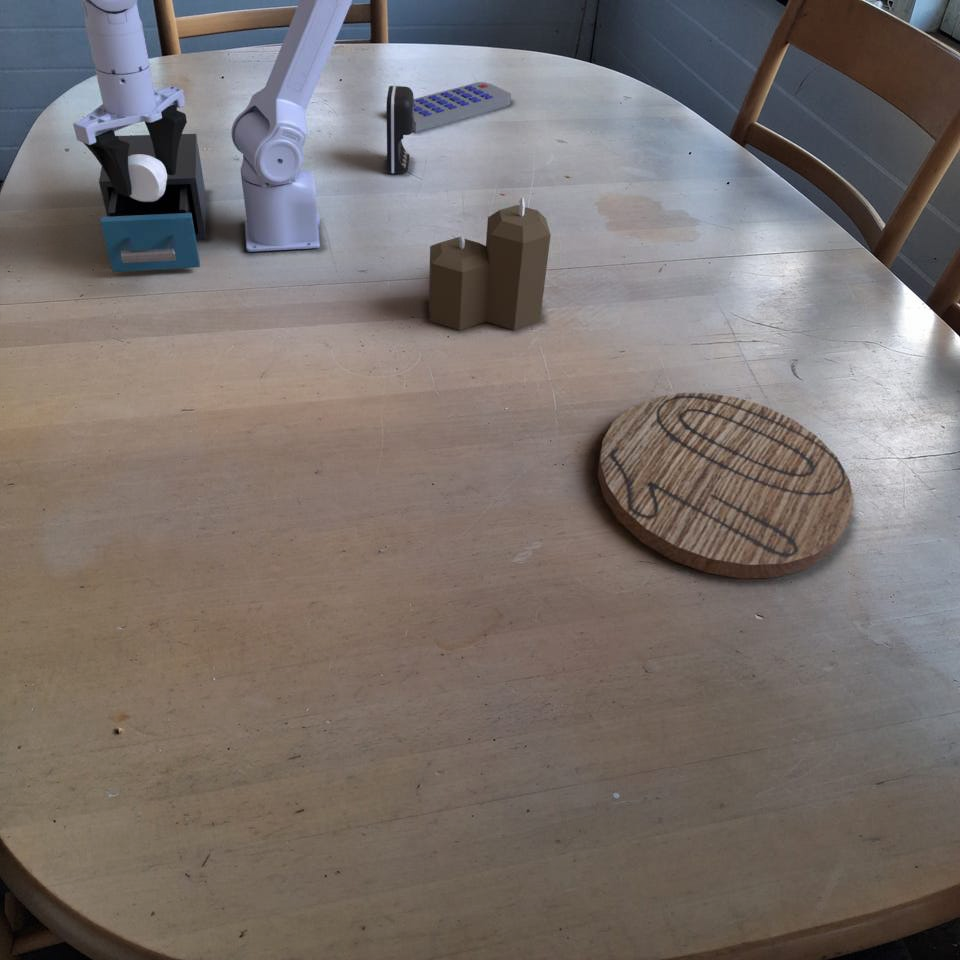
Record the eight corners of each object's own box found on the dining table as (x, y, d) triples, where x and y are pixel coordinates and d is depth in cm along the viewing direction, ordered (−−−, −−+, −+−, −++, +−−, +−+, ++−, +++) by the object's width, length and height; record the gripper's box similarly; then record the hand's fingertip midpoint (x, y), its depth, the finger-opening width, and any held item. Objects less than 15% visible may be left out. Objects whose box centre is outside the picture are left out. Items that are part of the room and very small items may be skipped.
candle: (560, 294, 115) (575, 183, 105) (518, 348, 106) (531, 232, 96) (464, 266, 119) (470, 156, 109) (415, 316, 110) (417, 201, 100)
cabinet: (205, 239, 120) (195, 178, 114) (113, 244, 118) (98, 181, 112) (205, 192, 129) (196, 133, 124) (120, 196, 127) (106, 135, 121)
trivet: (803, 622, 79) (810, 608, 78) (553, 504, 88) (555, 490, 86) (874, 465, 95) (881, 451, 94) (657, 378, 104) (660, 365, 102)
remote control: (386, 117, 153) (386, 104, 152) (486, 89, 165) (486, 77, 163) (415, 133, 149) (415, 120, 147) (515, 104, 160) (516, 91, 159)
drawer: (199, 287, 110) (191, 236, 105) (109, 292, 108) (96, 241, 103) (200, 219, 122) (192, 171, 117) (119, 223, 120) (107, 174, 115)
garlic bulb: (179, 183, 112) (171, 140, 108) (167, 205, 108) (159, 161, 104) (134, 180, 112) (125, 137, 108) (120, 203, 108) (110, 158, 104)
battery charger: (412, 176, 137) (412, 100, 129) (386, 175, 137) (386, 99, 129) (414, 156, 142) (415, 82, 134) (389, 155, 142) (389, 81, 134)
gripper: (95, 93, 93) (123, 215, 103) (196, 56, 103) (213, 171, 112) (48, 76, 96) (79, 197, 105) (151, 42, 105) (171, 155, 114)
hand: (145, 182), depth 109 cm, fingers closed on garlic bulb, 6 cm apart
